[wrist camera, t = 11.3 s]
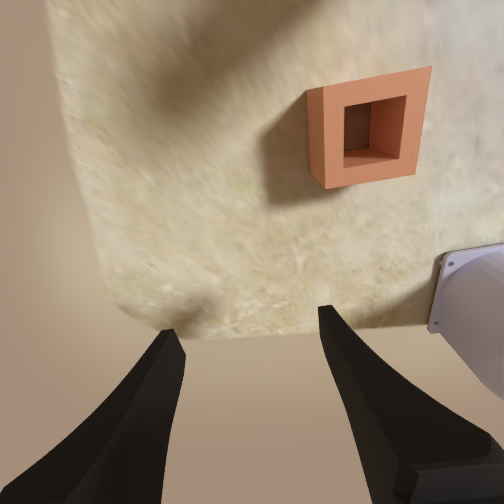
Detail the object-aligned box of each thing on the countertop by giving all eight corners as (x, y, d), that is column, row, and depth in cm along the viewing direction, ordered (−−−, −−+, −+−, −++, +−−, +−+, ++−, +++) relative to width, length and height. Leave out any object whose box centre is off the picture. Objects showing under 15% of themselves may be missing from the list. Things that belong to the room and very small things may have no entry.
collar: (382, 160, 18) (415, 174, 14) (310, 172, 18) (325, 189, 15) (389, 74, 15) (431, 65, 12) (306, 90, 16) (323, 86, 12)
